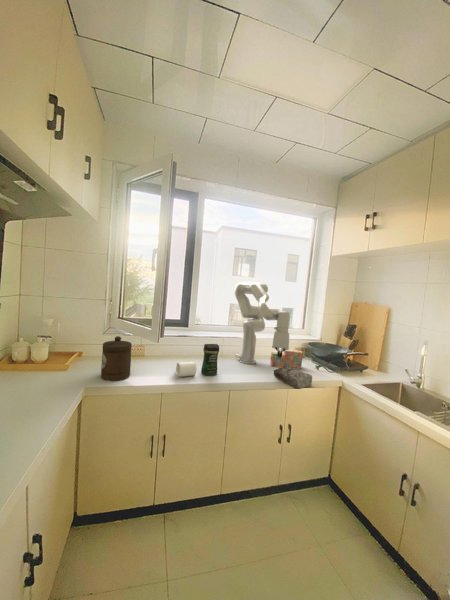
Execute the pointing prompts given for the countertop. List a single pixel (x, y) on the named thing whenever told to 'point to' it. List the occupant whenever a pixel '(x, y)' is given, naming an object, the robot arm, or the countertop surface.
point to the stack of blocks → (287, 359)
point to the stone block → (293, 377)
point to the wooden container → (116, 360)
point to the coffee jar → (210, 359)
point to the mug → (186, 369)
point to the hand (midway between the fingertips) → (279, 357)
